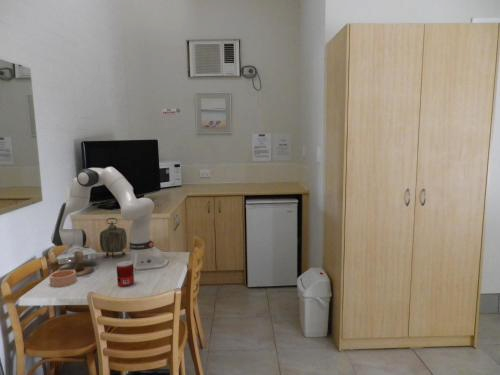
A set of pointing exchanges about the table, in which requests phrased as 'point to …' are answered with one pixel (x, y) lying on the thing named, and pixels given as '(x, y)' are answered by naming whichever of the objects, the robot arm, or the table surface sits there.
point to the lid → (81, 265)
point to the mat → (90, 273)
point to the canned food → (125, 273)
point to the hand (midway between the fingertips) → (79, 260)
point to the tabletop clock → (113, 239)
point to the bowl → (63, 278)
